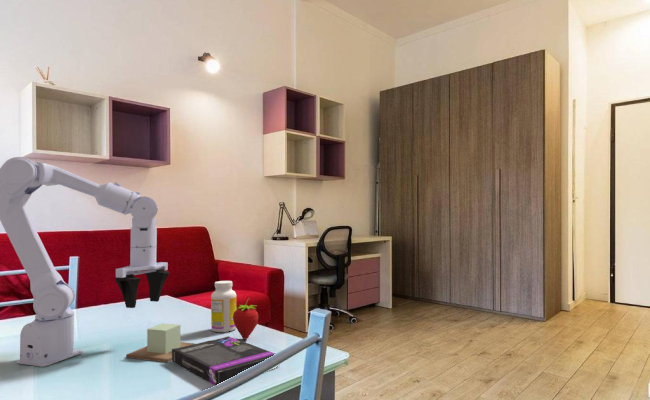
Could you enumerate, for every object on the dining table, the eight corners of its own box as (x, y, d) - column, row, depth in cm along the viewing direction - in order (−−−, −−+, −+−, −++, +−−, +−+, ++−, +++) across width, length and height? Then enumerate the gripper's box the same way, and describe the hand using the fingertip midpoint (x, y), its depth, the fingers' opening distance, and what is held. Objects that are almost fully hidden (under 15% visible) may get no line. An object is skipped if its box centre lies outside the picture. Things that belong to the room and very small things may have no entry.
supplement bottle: (234, 325, 117) (234, 279, 117) (238, 331, 111) (238, 282, 111) (209, 328, 114) (209, 281, 115) (213, 334, 108) (212, 284, 109)
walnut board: (167, 362, 88) (167, 359, 88) (126, 357, 91) (126, 354, 91) (199, 346, 98) (199, 344, 98) (161, 342, 101) (161, 340, 101)
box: (279, 372, 84) (228, 349, 98) (280, 354, 84) (229, 333, 98) (217, 391, 74) (170, 362, 88) (217, 371, 74) (171, 346, 88)
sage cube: (165, 353, 91) (165, 330, 92) (147, 351, 93) (147, 328, 93) (180, 346, 96) (180, 324, 96) (162, 344, 98) (162, 323, 98)
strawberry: (248, 333, 108) (248, 294, 109) (263, 339, 103) (263, 299, 103) (227, 338, 105) (227, 297, 105) (242, 344, 99) (242, 302, 99)
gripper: (133, 249, 91) (132, 312, 91) (177, 245, 105) (177, 299, 104) (108, 248, 94) (107, 309, 93) (155, 244, 107) (154, 297, 107)
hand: (143, 304), depth 99 cm, fingers open, 7 cm apart
